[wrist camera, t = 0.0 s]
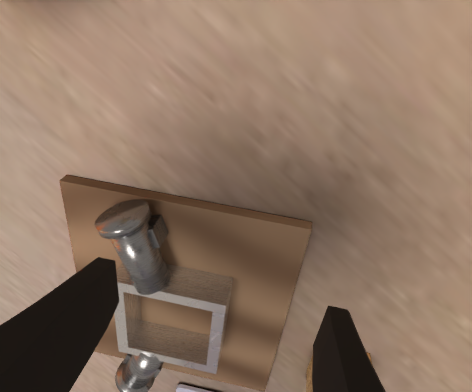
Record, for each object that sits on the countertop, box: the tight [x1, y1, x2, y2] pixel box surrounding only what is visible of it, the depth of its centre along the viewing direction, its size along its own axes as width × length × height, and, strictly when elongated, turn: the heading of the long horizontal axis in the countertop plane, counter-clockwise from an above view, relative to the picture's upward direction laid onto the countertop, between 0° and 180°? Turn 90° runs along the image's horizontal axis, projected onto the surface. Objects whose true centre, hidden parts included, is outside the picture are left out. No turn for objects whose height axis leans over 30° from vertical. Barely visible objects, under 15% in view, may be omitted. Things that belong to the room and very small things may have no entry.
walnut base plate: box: [60, 175, 312, 392], centre depth 27 cm, size 18×16×1 cm
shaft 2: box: [115, 353, 164, 392], centre depth 29 cm, size 5×3×3 cm, turn 153°
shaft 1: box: [95, 199, 171, 295], centre depth 22 cm, size 5×3×3 cm, turn 13°
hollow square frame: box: [114, 263, 233, 374], centre depth 25 cm, size 8×8×2 cm
